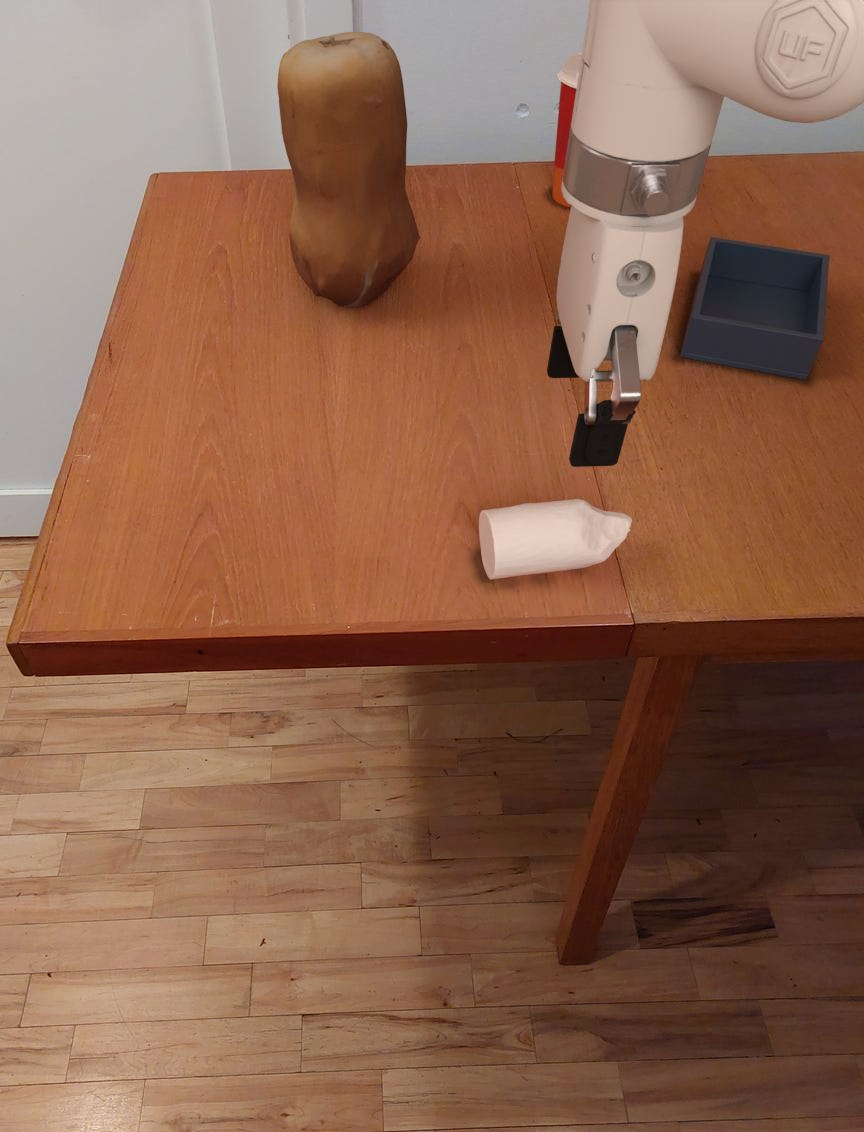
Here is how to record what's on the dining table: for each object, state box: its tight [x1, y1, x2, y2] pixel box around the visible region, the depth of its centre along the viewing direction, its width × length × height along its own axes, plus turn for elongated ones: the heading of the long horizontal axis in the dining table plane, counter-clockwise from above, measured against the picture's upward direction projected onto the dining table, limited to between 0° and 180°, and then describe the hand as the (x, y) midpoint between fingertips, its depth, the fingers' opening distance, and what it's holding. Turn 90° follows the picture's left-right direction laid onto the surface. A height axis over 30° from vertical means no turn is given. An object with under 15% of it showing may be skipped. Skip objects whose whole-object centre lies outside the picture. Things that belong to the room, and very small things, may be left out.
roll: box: [478, 498, 633, 581], centre depth 71 cm, size 6×12×6 cm, turn 98°
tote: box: [679, 236, 831, 381], centre depth 93 cm, size 16×12×5 cm
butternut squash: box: [276, 31, 421, 308], centre depth 89 cm, size 14×13×25 cm
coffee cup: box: [552, 51, 582, 208], centre depth 106 cm, size 8×8×15 cm
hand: (579, 417), depth 63 cm, fingers open, 9 cm apart
